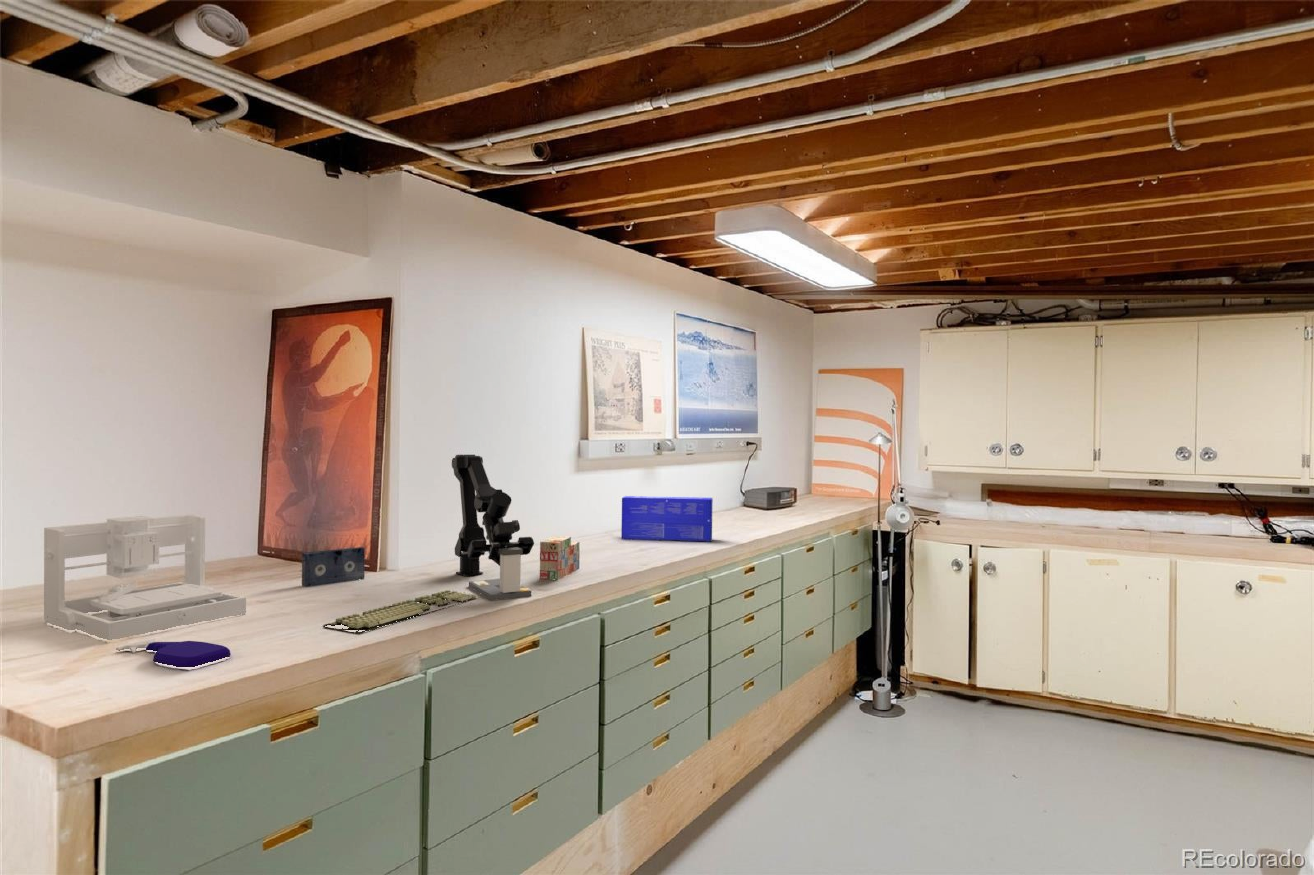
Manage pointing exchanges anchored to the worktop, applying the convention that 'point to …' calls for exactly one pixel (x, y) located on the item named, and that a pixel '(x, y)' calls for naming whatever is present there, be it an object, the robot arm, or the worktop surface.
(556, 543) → the stack of blocks
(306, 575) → the vhs cassette tape
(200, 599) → the 3d printer
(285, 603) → the worktop surface
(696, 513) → the toner cartridge box
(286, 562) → the worktop surface
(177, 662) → the dark purple flat pad
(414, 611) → the keyboard
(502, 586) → the lever
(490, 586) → the switch panel
